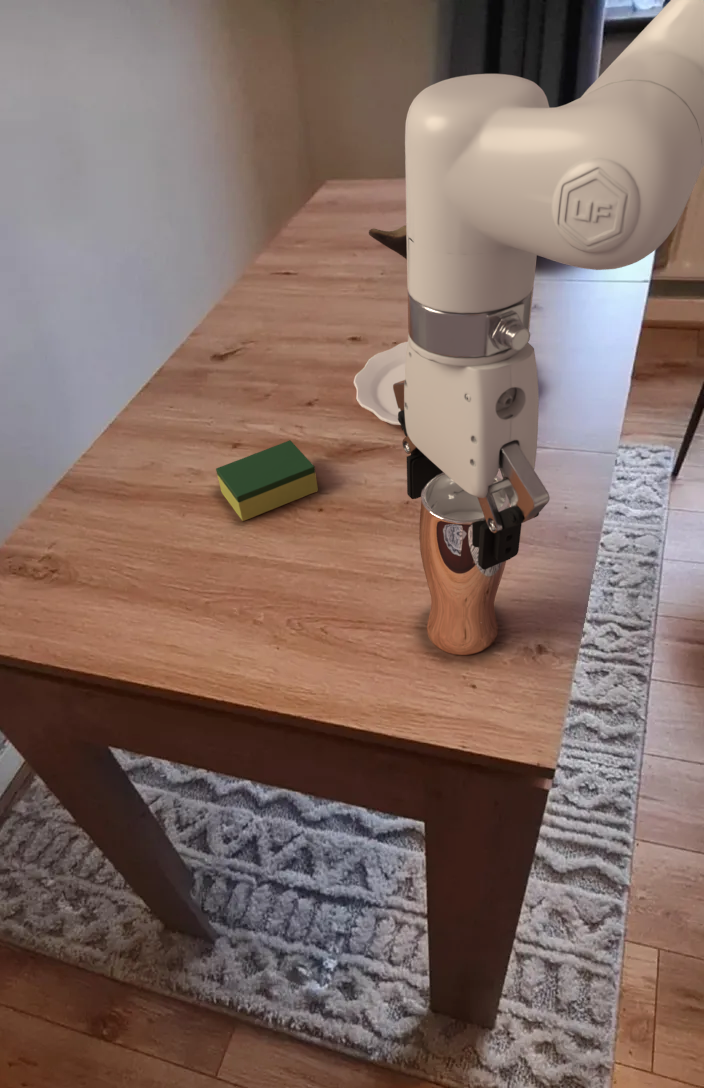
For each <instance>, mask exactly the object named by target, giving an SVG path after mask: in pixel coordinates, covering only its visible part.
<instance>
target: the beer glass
mask: <svg viewBox="0 0 704 1088" xmlns="http://www.w3.org/2000/svg"><path fill="white" fill-rule="evenodd" d="M500 479H502V478H501V477H499V476H498V475H496V478H495V480H494V482H495V481H498V480H500ZM493 497H494V500H495V503H496V505H497V508H498V511H499V512H500V511H502V510H504V509H507V508H509V507H511V505H510V502H509V499H508V497H507V494H506V491H505V489H502V490H500V491H497V492H495V493H493ZM420 499H421V500H420V513H419V537H418V538H419V551H420V556H421V562H422V567H423V571H424V576H425V579H426V583H427V585H428V589H429V594H430V610H429V615H428V618H427V624H426V631H427V635H428V638H429V640H430V641H431V642H432V644H433V645H434V646H435V647H436V648H438V649H440V650H441V651H444V652H446V653H448V654H452V655H458V656H468V655H475V654H478V653H480V652H482V651H484V650H486V649H488V648H489V647H490V646H491V645H492V644H493V643H494V641H495V640H496V638H497V635H498V622H497V618H496V614H495V603H496V596H497V593H498V590H499V587H500V583H501V580H502V578H503V575H504V571H505V568H506V564H507V561H505V562H501V563H499V564H497V565H495V566H493V567H490V568H488V569H486V570H483V569H482V568H481V567H480V566H479V565H478V553H479V537H480V527H481V525H482V524H483V523H486V520H485V517H484V514H483V512H482V509H481V506H480V503H479V501H478V498H477V497H476V496H473V495H471V494H469V493H468V492H466V491H465V490H463V489H462V488H461V487H460V486H459V485H458V484H456V483H455V482H454V481H453V480H452V479H451V478H449V477H448V476H447V475H446V474H445V473H444V472H442V473H440V474H438V475H436V476H434V477H433V478H431V479H430V480H429V481H428V482H427V483H426V484H425V486H424V487H423V490H422V493H421V497H420Z"/></svg>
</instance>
